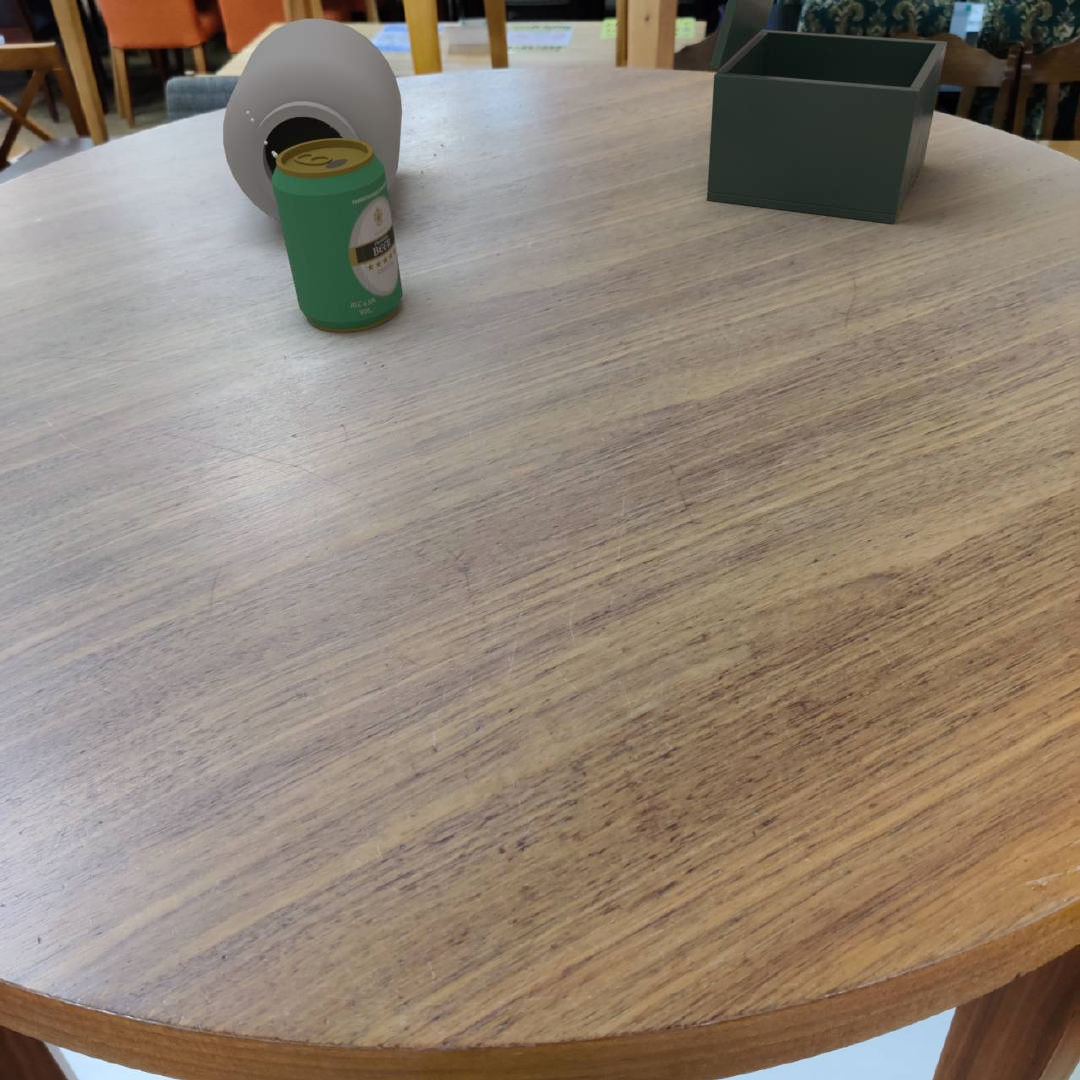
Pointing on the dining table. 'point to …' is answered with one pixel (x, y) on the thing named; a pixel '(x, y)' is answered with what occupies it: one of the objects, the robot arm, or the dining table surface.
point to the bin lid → (739, 27)
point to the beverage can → (338, 233)
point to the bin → (823, 123)
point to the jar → (309, 102)
